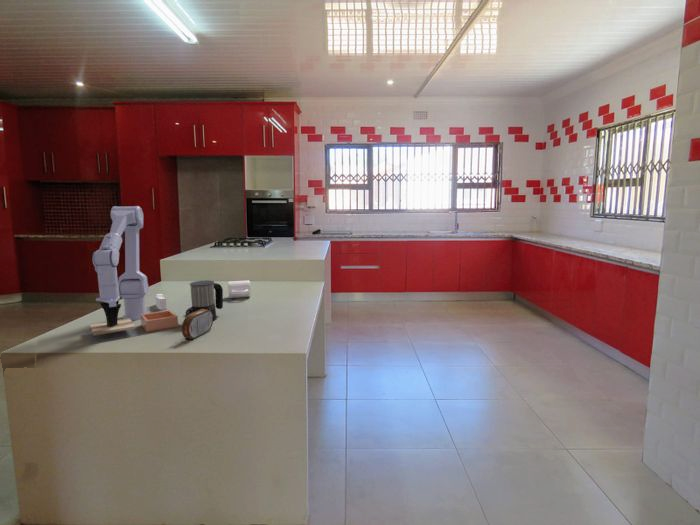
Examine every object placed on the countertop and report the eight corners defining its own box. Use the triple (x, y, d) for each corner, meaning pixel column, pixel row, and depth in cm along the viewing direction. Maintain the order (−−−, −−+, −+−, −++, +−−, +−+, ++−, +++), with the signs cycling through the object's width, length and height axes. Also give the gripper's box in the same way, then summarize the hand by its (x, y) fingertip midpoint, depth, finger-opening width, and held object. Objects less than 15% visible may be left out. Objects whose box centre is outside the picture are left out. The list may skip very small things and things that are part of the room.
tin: (207, 328, 151) (206, 305, 150) (215, 328, 151) (214, 306, 149) (181, 342, 137) (180, 317, 136) (190, 342, 136) (188, 317, 135)
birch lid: (89, 326, 145) (88, 315, 144) (129, 320, 152) (128, 309, 152) (93, 335, 135) (92, 323, 135) (135, 328, 142) (134, 317, 142)
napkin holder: (168, 312, 175) (167, 298, 175) (141, 312, 175) (140, 299, 174) (182, 303, 190) (181, 291, 189) (157, 303, 190) (156, 291, 189)
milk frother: (208, 323, 157) (206, 285, 155) (171, 321, 160) (168, 283, 158) (227, 313, 171) (225, 278, 169) (192, 311, 174) (190, 277, 172)
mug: (228, 296, 202) (227, 280, 201) (249, 294, 205) (248, 278, 204) (229, 302, 190) (228, 285, 189) (251, 300, 193) (250, 283, 192)
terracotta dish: (141, 326, 154) (140, 314, 153) (171, 321, 160) (170, 310, 159) (147, 333, 146) (146, 321, 145) (178, 328, 152) (177, 316, 151)
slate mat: (86, 334, 146) (85, 332, 146) (133, 326, 154) (133, 324, 154) (90, 345, 134) (89, 344, 134) (141, 336, 143) (141, 335, 142)
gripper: (92, 282, 145) (96, 320, 147) (97, 289, 133) (101, 330, 135) (115, 280, 149) (119, 316, 151) (121, 286, 137) (125, 326, 140)
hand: (112, 323), depth 144 cm, fingers closed on birch lid, 3 cm apart
